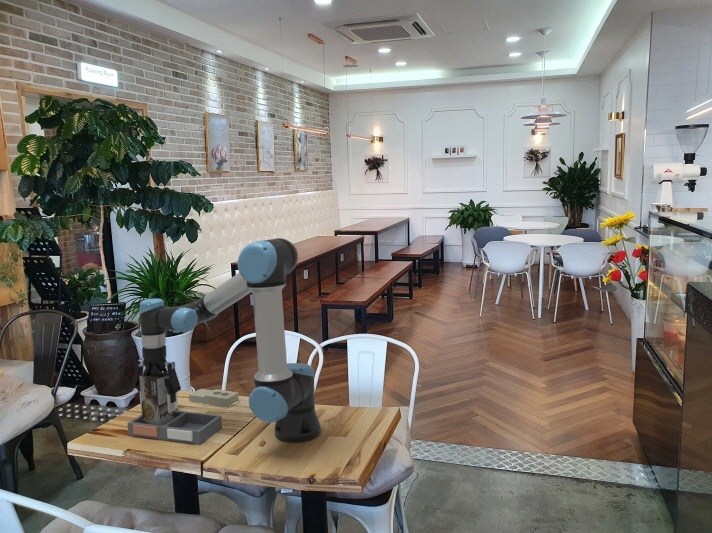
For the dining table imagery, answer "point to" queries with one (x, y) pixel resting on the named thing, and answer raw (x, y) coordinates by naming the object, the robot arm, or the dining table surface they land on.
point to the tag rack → (178, 427)
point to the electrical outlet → (214, 397)
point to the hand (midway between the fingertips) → (157, 410)
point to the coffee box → (154, 399)
